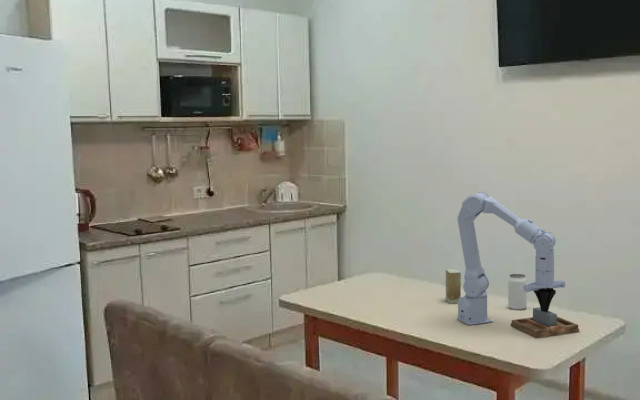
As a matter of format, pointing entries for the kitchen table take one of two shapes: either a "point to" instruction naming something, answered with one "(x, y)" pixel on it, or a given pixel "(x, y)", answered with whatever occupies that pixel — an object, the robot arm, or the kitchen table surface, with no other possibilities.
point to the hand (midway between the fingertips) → (544, 310)
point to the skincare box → (453, 285)
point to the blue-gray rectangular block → (544, 317)
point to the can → (517, 292)
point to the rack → (544, 327)
